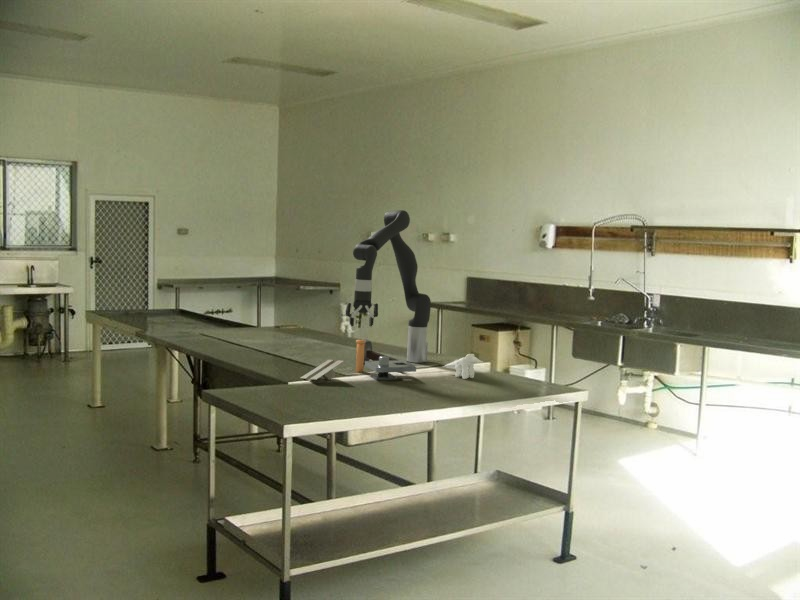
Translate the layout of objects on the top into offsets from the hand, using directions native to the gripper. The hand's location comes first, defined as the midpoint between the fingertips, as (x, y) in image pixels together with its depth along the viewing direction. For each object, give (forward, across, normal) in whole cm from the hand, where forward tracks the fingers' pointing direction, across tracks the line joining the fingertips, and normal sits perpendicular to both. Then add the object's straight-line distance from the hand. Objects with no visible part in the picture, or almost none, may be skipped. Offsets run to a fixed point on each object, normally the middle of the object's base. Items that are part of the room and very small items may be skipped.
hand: (361, 326), depth 374 cm
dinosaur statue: (+20, -42, +17) cm, 50 cm away
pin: (+20, 0, 0) cm, 20 cm away
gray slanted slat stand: (+21, +22, +18) cm, 35 cm away
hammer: (+21, -13, -10) cm, 26 cm away
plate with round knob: (+20, -9, +15) cm, 27 cm away
